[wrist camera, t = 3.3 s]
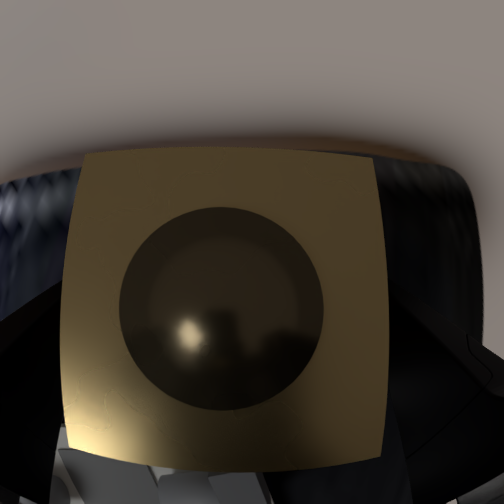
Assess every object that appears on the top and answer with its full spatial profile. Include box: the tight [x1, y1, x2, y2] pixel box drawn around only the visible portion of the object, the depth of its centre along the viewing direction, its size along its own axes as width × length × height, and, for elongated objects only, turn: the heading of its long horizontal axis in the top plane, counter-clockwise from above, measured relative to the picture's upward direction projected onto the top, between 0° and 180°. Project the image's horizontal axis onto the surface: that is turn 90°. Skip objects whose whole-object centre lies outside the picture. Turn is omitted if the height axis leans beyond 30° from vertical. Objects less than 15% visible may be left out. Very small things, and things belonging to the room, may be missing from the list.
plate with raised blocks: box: [19, 424, 274, 504], centre depth 11 cm, size 18×9×4 cm, turn 106°
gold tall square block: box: [60, 147, 389, 473], centre depth 10 cm, size 5×5×13 cm
